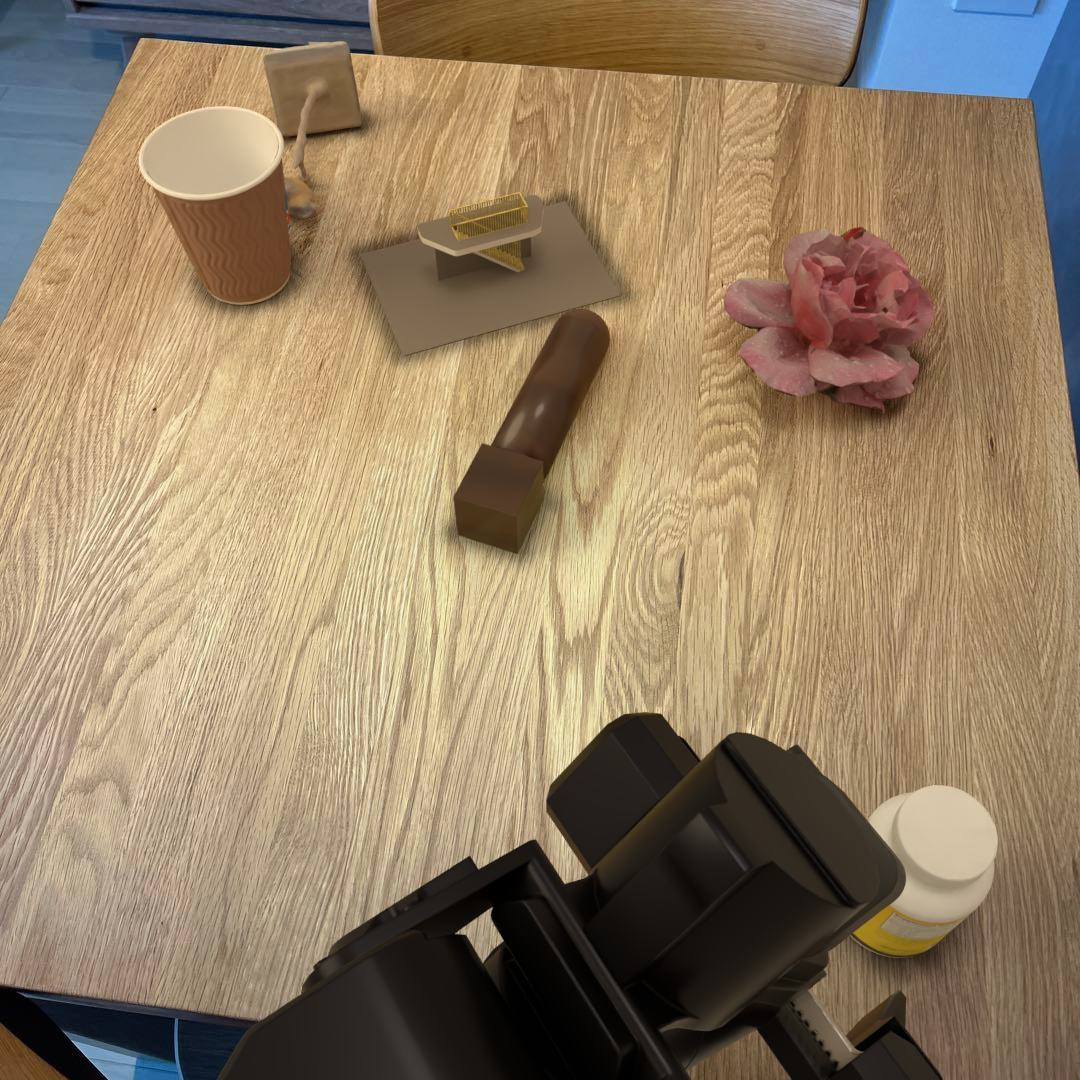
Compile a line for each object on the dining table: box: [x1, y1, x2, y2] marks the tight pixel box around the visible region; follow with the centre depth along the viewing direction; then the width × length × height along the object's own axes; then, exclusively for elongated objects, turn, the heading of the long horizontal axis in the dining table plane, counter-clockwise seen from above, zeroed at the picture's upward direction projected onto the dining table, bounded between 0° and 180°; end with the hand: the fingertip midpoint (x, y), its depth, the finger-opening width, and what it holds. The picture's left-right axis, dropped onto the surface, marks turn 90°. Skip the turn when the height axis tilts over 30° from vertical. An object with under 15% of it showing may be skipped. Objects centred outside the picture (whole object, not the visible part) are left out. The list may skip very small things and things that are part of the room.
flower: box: [723, 226, 937, 415], centre depth 82 cm, size 15×15×10 cm
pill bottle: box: [849, 784, 999, 959], centre depth 59 cm, size 6×6×12 cm
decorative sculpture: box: [263, 41, 363, 220], centre depth 96 cm, size 16×10×7 cm, turn 170°
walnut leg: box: [453, 308, 611, 555], centre depth 80 cm, size 20×4×4 cm, turn 159°
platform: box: [359, 191, 622, 357], centre depth 89 cm, size 12×18×7 cm, turn 111°
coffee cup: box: [138, 105, 292, 306], centre depth 86 cm, size 10×10×12 cm
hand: (823, 906), depth 50 cm, fingers open, 9 cm apart
